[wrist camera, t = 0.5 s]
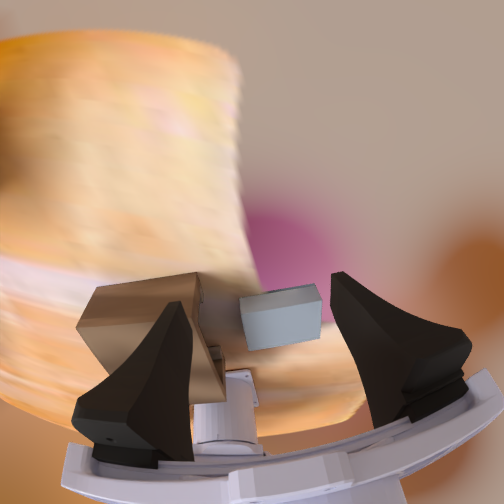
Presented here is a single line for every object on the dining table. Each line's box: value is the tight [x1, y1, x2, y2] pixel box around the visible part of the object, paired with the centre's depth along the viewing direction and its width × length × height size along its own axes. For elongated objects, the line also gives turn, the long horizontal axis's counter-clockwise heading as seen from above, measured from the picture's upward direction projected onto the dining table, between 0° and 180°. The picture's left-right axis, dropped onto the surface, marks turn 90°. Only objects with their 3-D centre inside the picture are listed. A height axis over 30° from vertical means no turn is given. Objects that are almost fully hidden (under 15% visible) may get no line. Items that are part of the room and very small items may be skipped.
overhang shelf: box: [76, 272, 227, 405], centre depth 23 cm, size 12×10×6 cm
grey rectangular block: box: [239, 283, 322, 351], centre depth 25 cm, size 5×7×2 cm
